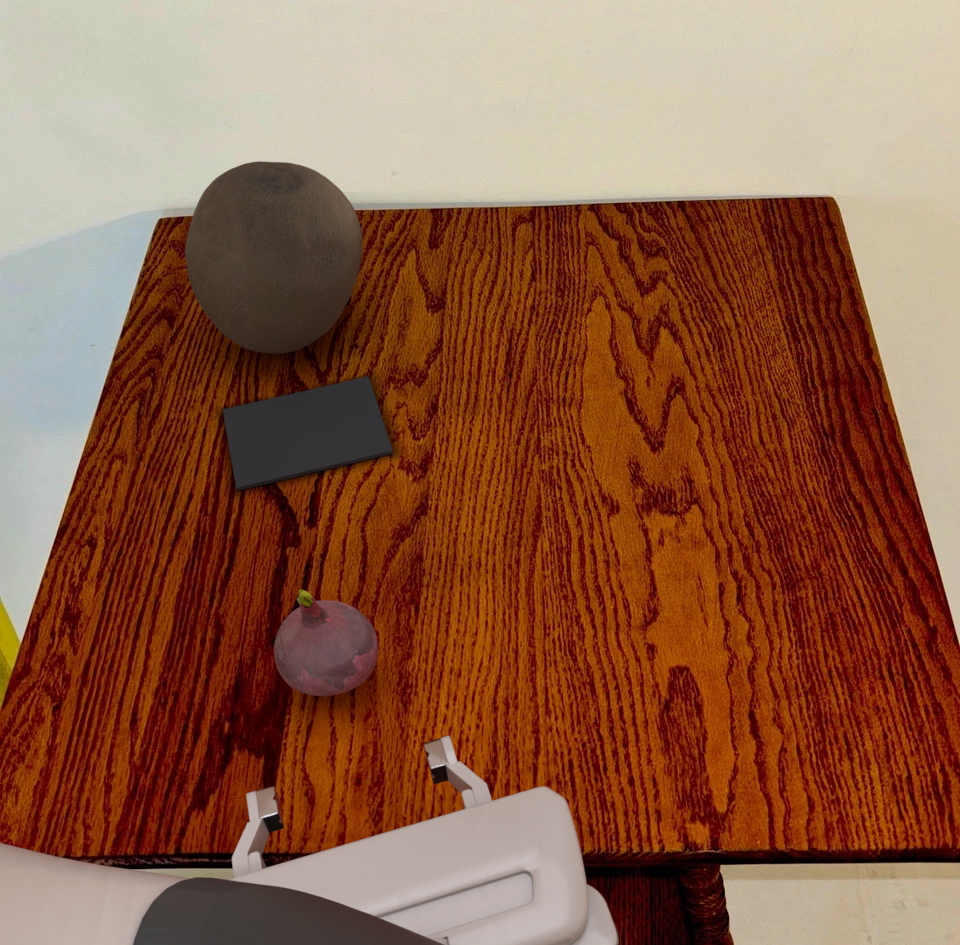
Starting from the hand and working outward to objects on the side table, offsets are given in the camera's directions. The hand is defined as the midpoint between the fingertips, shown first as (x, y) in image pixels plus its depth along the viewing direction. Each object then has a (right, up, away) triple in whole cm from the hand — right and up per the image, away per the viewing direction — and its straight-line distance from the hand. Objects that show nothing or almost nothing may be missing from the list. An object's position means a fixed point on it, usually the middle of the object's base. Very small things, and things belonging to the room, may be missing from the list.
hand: (351, 768), depth 55 cm
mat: (-7, +19, +26) cm, 33 cm away
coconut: (-9, +28, +35) cm, 46 cm away
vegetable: (-2, +2, +11) cm, 11 cm away
